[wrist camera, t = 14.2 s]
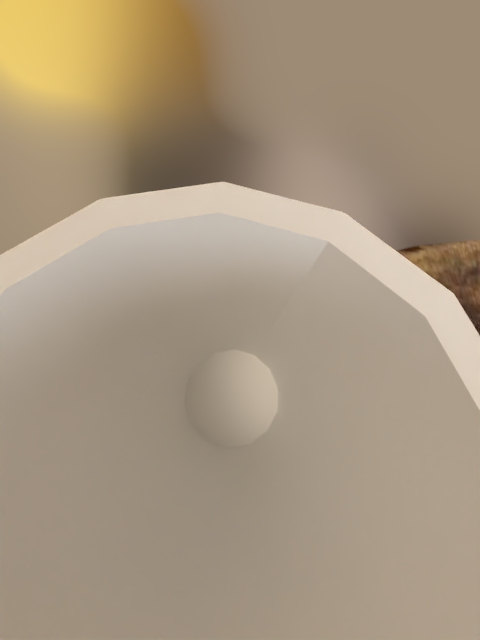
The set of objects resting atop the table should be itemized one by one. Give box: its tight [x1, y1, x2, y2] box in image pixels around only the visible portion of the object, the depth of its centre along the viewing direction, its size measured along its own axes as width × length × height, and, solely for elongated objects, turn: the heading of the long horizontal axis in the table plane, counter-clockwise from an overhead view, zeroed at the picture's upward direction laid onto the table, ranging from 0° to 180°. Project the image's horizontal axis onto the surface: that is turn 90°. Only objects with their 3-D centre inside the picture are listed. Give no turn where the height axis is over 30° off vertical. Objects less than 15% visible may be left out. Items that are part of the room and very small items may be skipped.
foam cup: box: [0, 182, 480, 640], centre depth 10 cm, size 10×9×13 cm
